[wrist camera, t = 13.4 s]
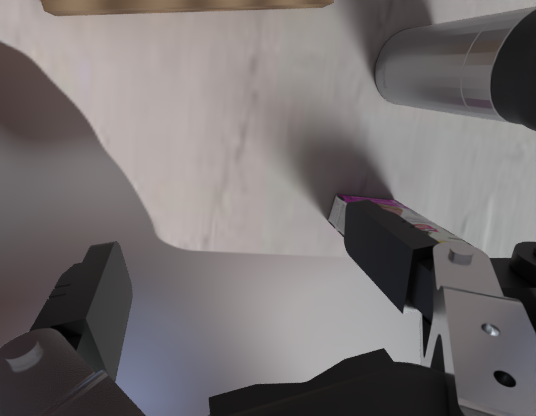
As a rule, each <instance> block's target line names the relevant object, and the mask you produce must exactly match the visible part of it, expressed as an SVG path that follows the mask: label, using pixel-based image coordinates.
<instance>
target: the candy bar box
mask: <svg viewBox="0 0 536 416" xmlns="http://www.w3.org/2000/svg"><path fill="white" fill-rule="evenodd" d="M364 199H369V200H371V201H372V202H374V203H375V204H377V205H378V206H380V207H381V208H383V209H385V210H387V211H390V212H393V213H396V214H398V215H399V216H401V217H402V218H404V219H405V220H407V222H410V223H411V224H413V225H414V226H415V227H417V228H419V229H420V230H422V231H423V232H425V233H426V234H428V235H429V236H431V237H432V238H434V239H435V240H437V241H438V242H440V243H443V242H458V243H464V244H468V245H471V244H469V243H467V242H466V241H464V240H462V239H461V238H459V237H457V236H455V235H454V234H452V233H450V232H449V231H447V230H445V229H443V228H442V227H440V226H438V225H437V224H435V223H433V222H431V221H430V220H428V219H426V218H425V217H423V216H421V215H419V214H418V213H416V212H414V211H413V210H411V209H409V208H408V207H406V206H404V205H403V204H401V203H399V202H398V201H396V200H387V199H377V198H367V197H356V196H347V195H338V194H336V196H335V199H334V202H333V207H332V210H331V213H330V216H329V220H328V222H329V223H330V224H331V225H332V226H333V227H334V228H335V229H336V230H337V231H338V232H339V233H340V234H341V235H342V236H343V237H344V228H345V209H346V205H347V203H348V202H352V201H358V200H364ZM471 246H472V245H471ZM473 247H474V246H473Z"/></svg>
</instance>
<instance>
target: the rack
mask: <svg viewBox="0 0 536 416" xmlns="http://www.w3.org/2000/svg"><path fill="white" fill-rule="evenodd" d="M41 2H42V5H43V9H44V11H46V12H48V13H50V14H52V15H55V16H73V15H105V14H137V13H168V12H200V11H232V10H264V9H295V8H323V7H325V6H327V5H330V4H332V3H334V0H41Z"/></svg>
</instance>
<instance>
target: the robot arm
mask: <svg viewBox="0 0 536 416" xmlns="http://www.w3.org/2000/svg"><path fill="white" fill-rule="evenodd" d="M375 80H376V85H377V88H378V90H379V92H380V94H381V95H382V96H383V98H384V99H386V100H387V101H388V102H391V103H393V104H398V105H404V106H410V107H415V108H421V109H427V110H434V111H440V112H446V113H452V114H458V115H465V116H471V117H477V118H483V119H490V120H497V121H503V122H509V123H516V124H522V125H524V126H526V127H528V128H530V129H532V130H534V131H536V7H531V8H525V9H519V10H514V11H508V12H503V13H497V14H492V15H486V16H480V17H474V18H469V19H463V20H457V21H451V22H446V23H440V24H434V25H428V26H422V27H416V28H411V29H406V30H403V31H400V32H399V33H397V34H395V35H394V36H393V37H392V38H390V39H389V40H388V41H387V43H386V44H385V45H384V47H383V48H382V50H381V52H380V54H379V57H378V60H377V63H376V69H375ZM344 244H345V248H346V251H347V253H348V254H349V256H350V257H351V258H352V259H353V260H354V261H355V262H356V263H357V264H358V266H359V267H360V268H361V269H362V270H363V271H364V272H365V273H366V274H367V275H368V276H369V277H370V279H371V280H372V281H373V282H374V283H375V284H376V285H377V286H378V287H379V289H380V290H381V291H382V292H383V293H384V294H385V295H386V296H387V297H388V298H389V299H390V301H391V302H392V303H393V304H394V305H395V306H396V307H397V308H398V309H399V310H400V311H401V313H402V314H406V313H409V312H413V311H417V310H419V311H420V312H421V316H420V361H421V363H420V365H418V364H413V363H405V362H394V361H393V360H392V359H391V357H390V356H389V355H388V353H387V352H386V350H385V349H384V348H383V349H379V350H376V351H372V352H369V353H365V354H361V355H358V356H355V357H351V358H347V359H344V360H343V361H341V362H339V363H338V364H336V365H334V366H333V367H331V368H330V369H328V370H326V371H325V372H323V373H321V374H319V375H318V376H316V377H314V378H313V379H311V380H309V381H307V382H303V383H279V384H255V385H252V386H248V387H244V388H241V389H237V390H234V391H230V392H227V393H223V394H219V395H216V396H213V397H209V407H210V415H208V416H536V242H521V243H518V244H517V245H515V248H514V251H513V254H512V257H511V258H489V257H488V255H487V254H486V253H484V252H483V251H481V250H480V249H478V248H476V247H473V246H471V245H468V244H464V243H458V242H443V243H440V242H438V241H437V240H435V239H434V238H432V237H431V236H429V235H428V234H426V233H425V232H423V231H422V230H420V229H419V228H417V227H415V226H414V225H413V224H411V223H410V222H407V220H405V219H404V218H402V217H401V216H399V215H398V214H396V213H393V212H390V211H387V210H385V209H383V208H381V207H380V206H378V205H377V204H375V203H374V202H372V201H371V200H369V199H364V200H358V201H352V202H348V203H347V205H346V209H345V228H344ZM131 302H132V285H131V280H130V277H129V273H128V270H127V267H126V264H125V260H124V257H123V254H122V251H121V247H120V245H119V243H118V242H117V241H115V242H109V243H103V244H97V245H92V246H90V248H89V250H88V252H87V254H86V256H85V258H84V260H83V262H82V263H78V264H74V265H73V266H72V267H70V268H69V269H68V270H67V271H66V272H65V273H63V274H62V275H61V277H60V278H59V280H58V282H57V284H56V286H55V289H53V291H52V292H51V294H50V296H49V299H47V301H46V303H45V305H44V306H43V308H42V310H41V312H40V313H39V315H38V317H37V319H36V320H35V322H34V324H33V325H32V327H31V329H30V331H29V332H26V333H24V334H22V335H20V336H18V337H16V338H14V339H12V340H10V341H9V342H7V343H6V344H4V345H3V346H1V347H0V416H146V415H145V414H144V413H143V412H142V411H141V410H140V409H139V408H138V407H137V405H136V404H135V403H134V402H133V401H132V400H131V399H130V398H129V397H128V396H127V395H126V394H125V393H124V391H123V390H122V389H121V388H120V387H119V386H118V385H117V384H116V383H115V381H116V376H117V371H118V365H119V361H120V356H121V351H122V346H123V341H124V337H125V332H126V327H127V322H128V317H129V312H130V308H131Z"/></svg>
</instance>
